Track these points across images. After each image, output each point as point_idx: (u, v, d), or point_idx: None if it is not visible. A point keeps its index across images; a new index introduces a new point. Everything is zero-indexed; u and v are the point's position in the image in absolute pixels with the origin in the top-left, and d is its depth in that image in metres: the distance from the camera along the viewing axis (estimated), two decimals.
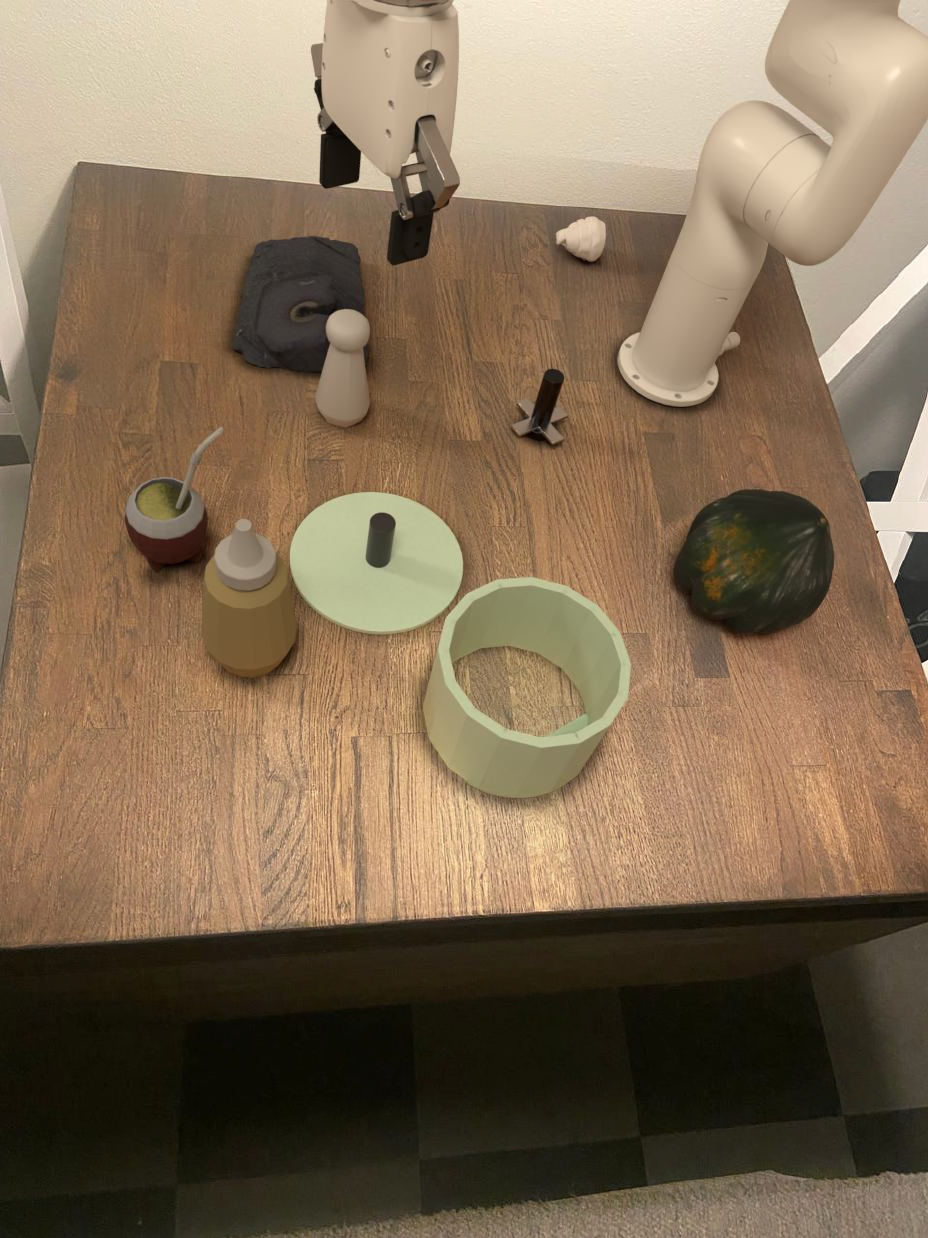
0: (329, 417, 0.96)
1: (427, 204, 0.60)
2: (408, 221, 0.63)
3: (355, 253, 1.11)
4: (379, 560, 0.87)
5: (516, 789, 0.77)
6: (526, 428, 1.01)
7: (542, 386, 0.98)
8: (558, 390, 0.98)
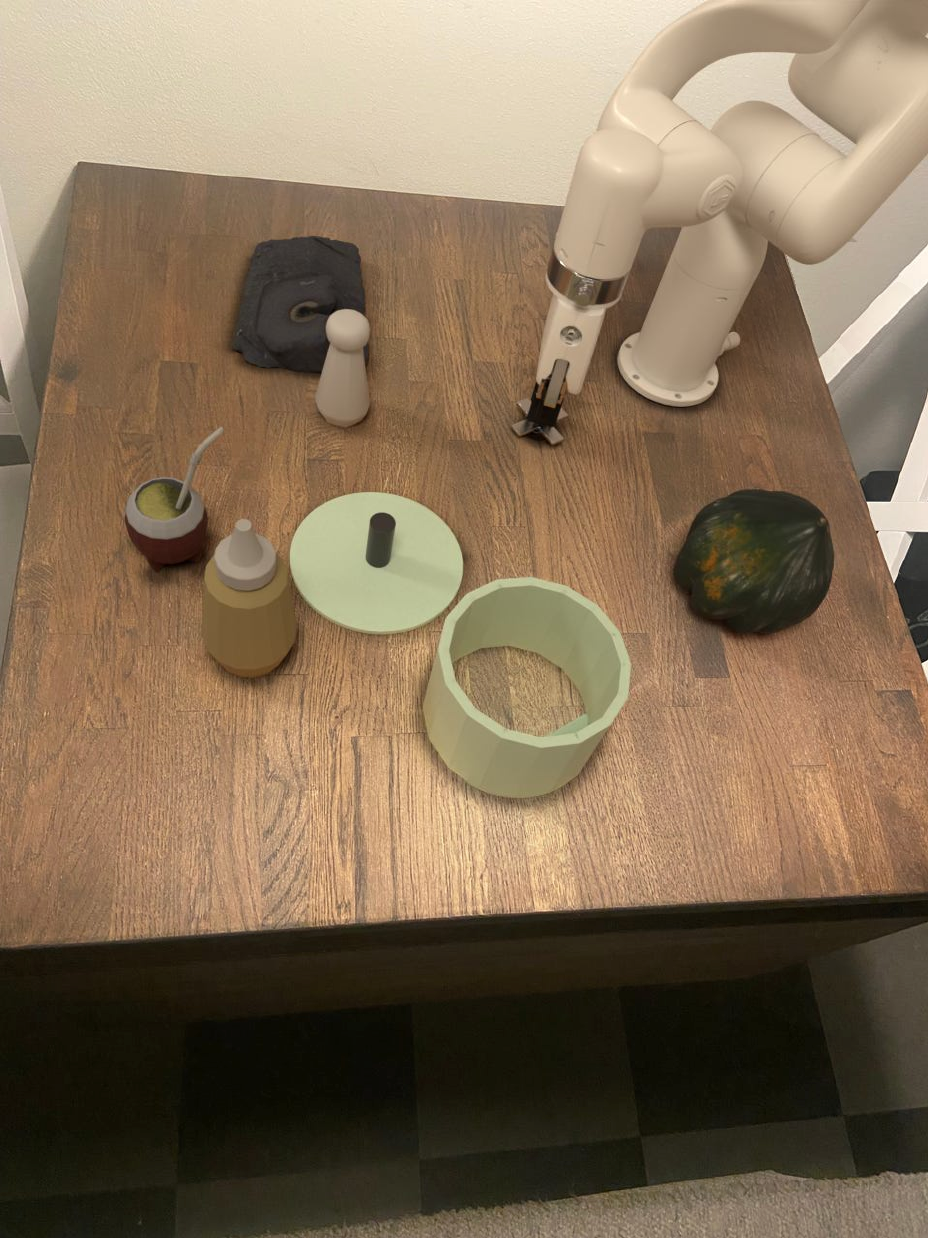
0: (329, 417, 0.96)
1: (543, 395, 0.94)
2: (540, 400, 0.97)
3: (355, 253, 1.11)
4: (379, 560, 0.87)
5: (516, 789, 0.77)
6: (526, 428, 1.01)
7: None
8: None
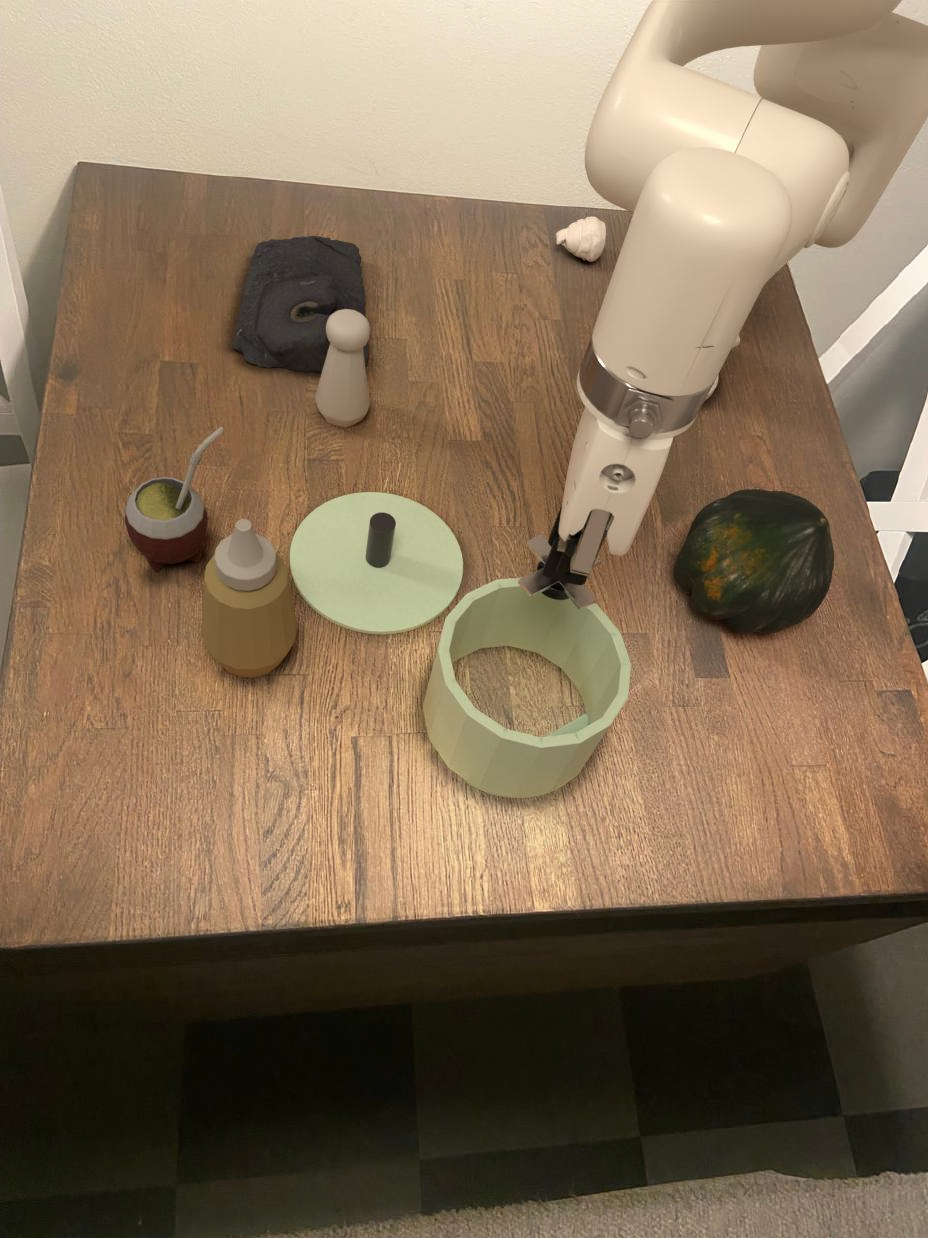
0: (329, 417, 0.96)
1: (569, 552, 0.61)
2: (563, 552, 0.64)
3: (355, 253, 1.11)
4: (379, 560, 0.87)
5: (516, 789, 0.77)
6: (541, 584, 0.68)
7: None
8: None
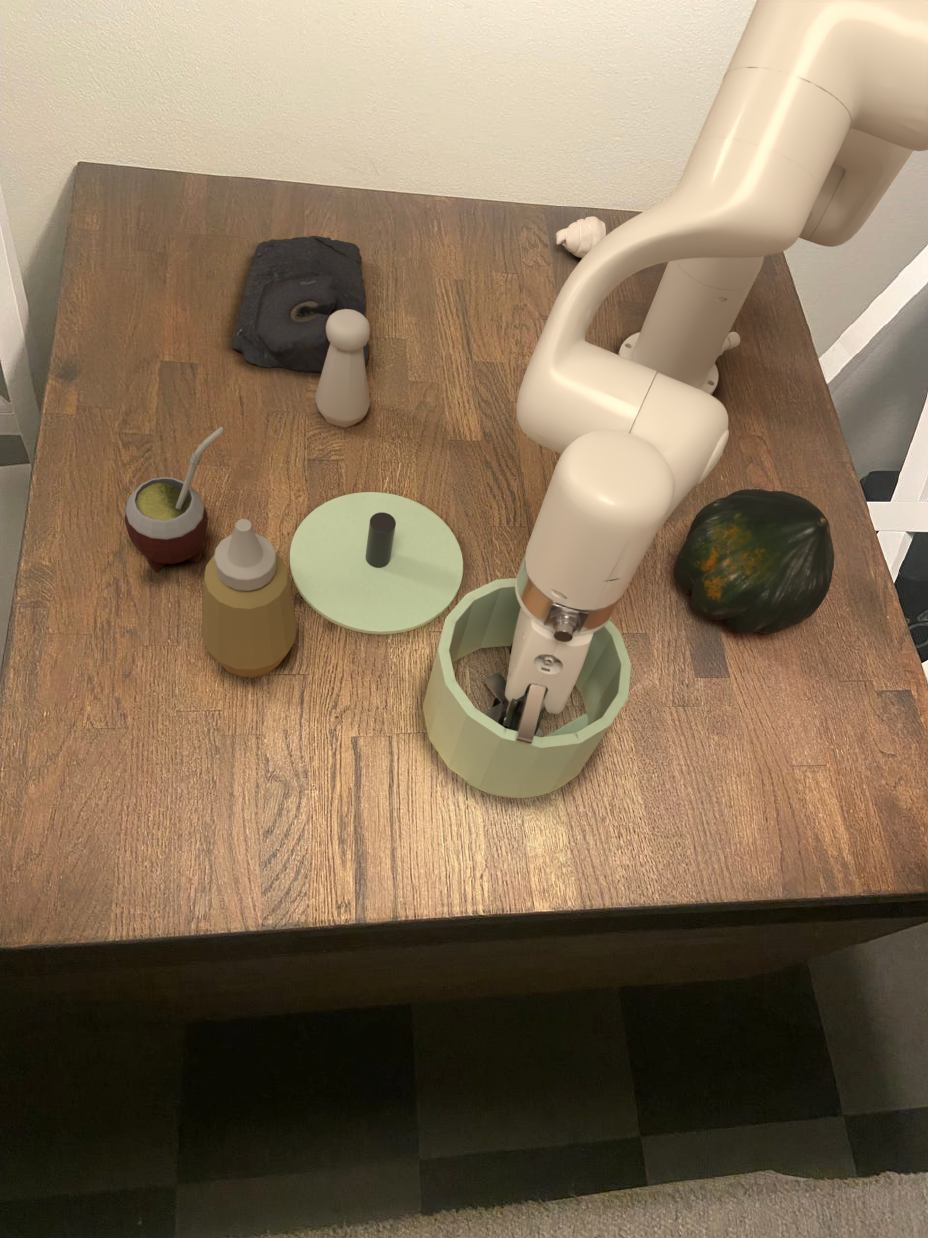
0: (329, 417, 0.96)
1: None
2: None
3: (356, 253, 1.11)
4: (379, 560, 0.87)
5: (516, 789, 0.77)
6: (496, 719, 0.80)
7: None
8: None
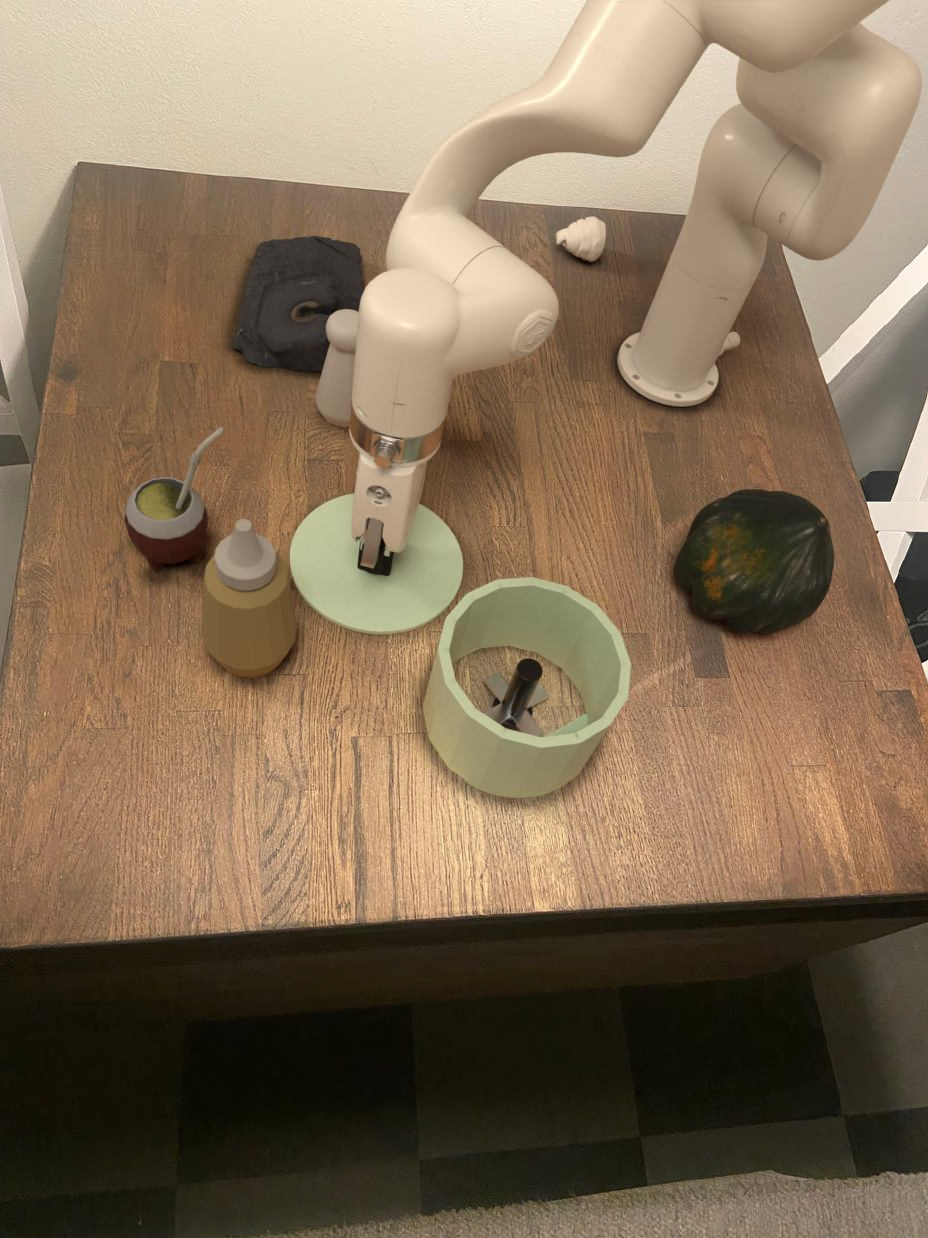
0: (329, 417, 0.96)
1: None
2: None
3: (356, 254, 1.11)
4: None
5: (516, 789, 0.77)
6: (496, 719, 0.80)
7: (514, 680, 0.76)
8: (535, 686, 0.76)
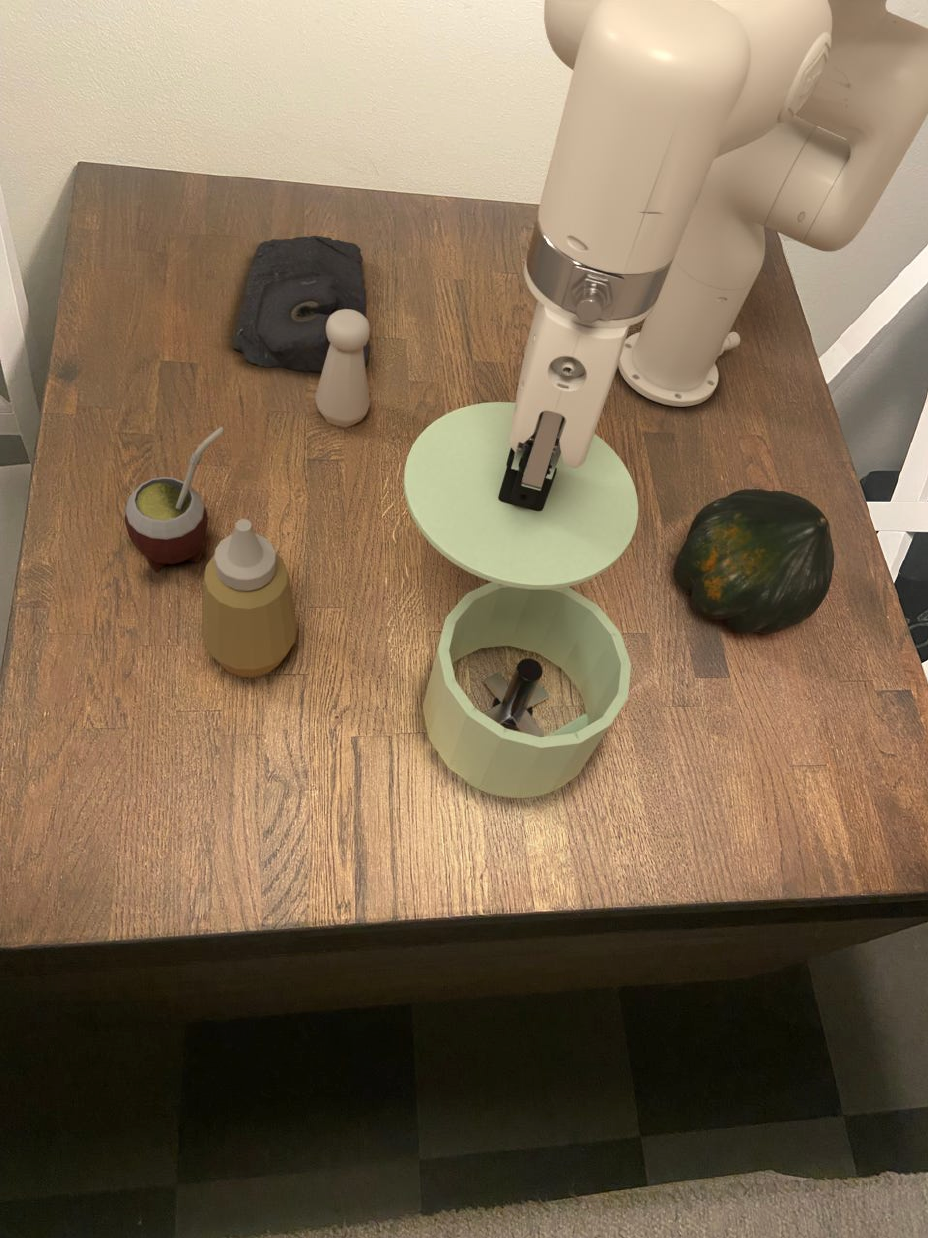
0: (329, 417, 0.96)
1: (522, 467, 0.57)
2: (518, 472, 0.60)
3: (357, 254, 1.11)
4: None
5: (516, 789, 0.77)
6: (496, 719, 0.80)
7: (514, 680, 0.76)
8: (535, 686, 0.76)
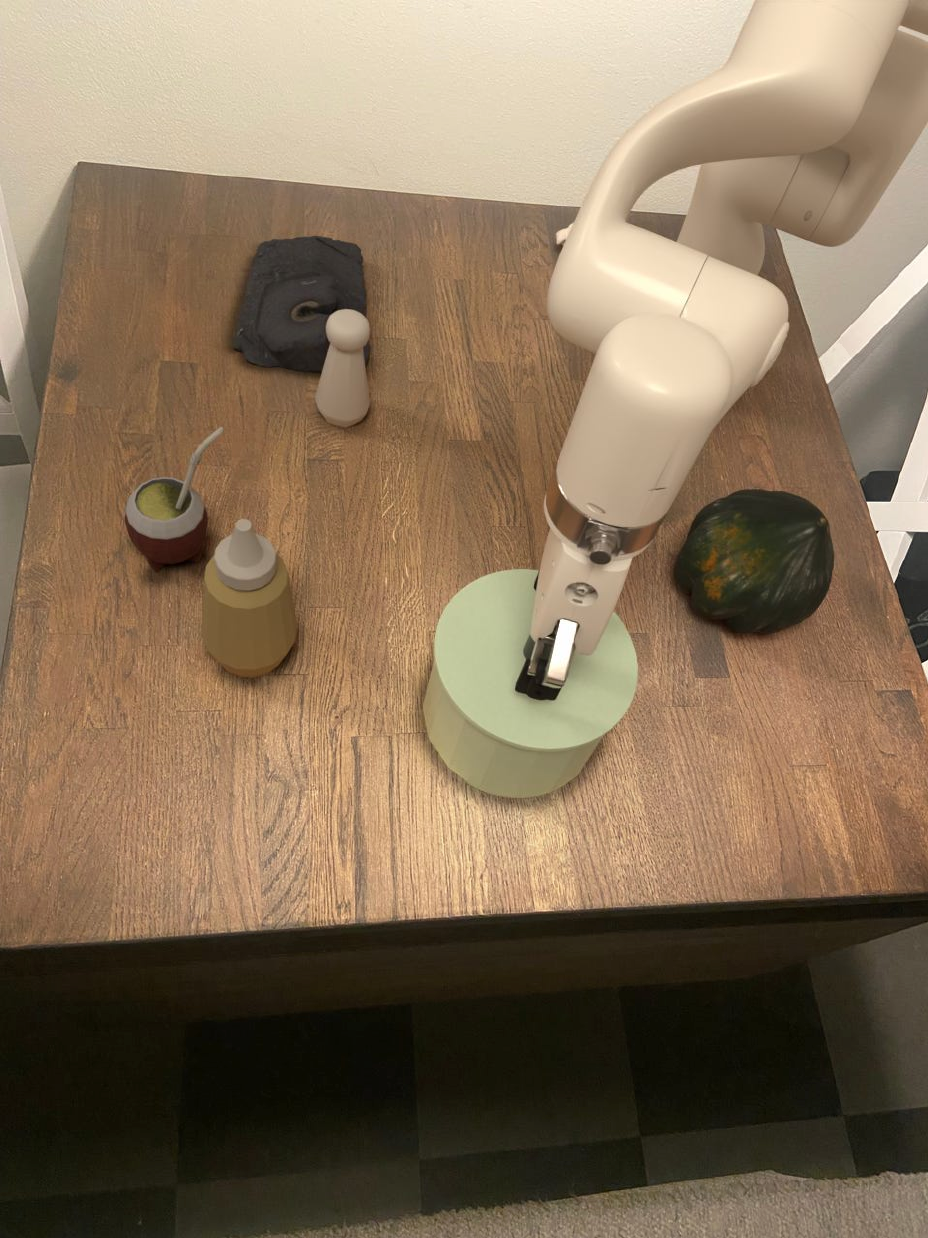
0: (329, 417, 0.96)
1: (538, 680, 0.63)
2: None
3: (357, 254, 1.11)
4: (543, 658, 0.72)
5: (516, 789, 0.77)
6: None
7: None
8: None
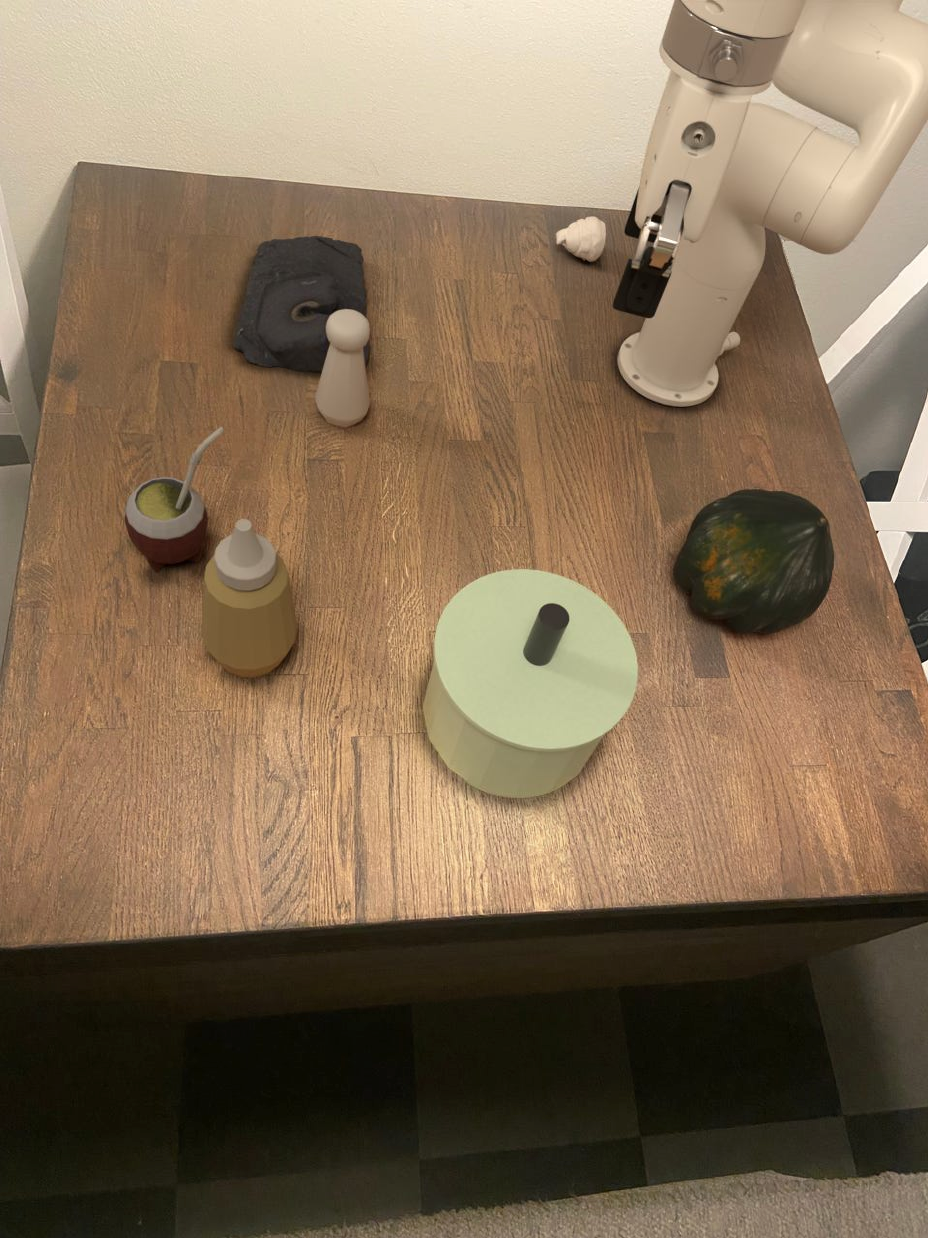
0: (329, 417, 0.96)
1: (646, 259, 0.62)
2: (636, 272, 0.65)
3: (358, 254, 1.11)
4: (543, 658, 0.72)
5: (516, 789, 0.77)
6: None
7: None
8: None
